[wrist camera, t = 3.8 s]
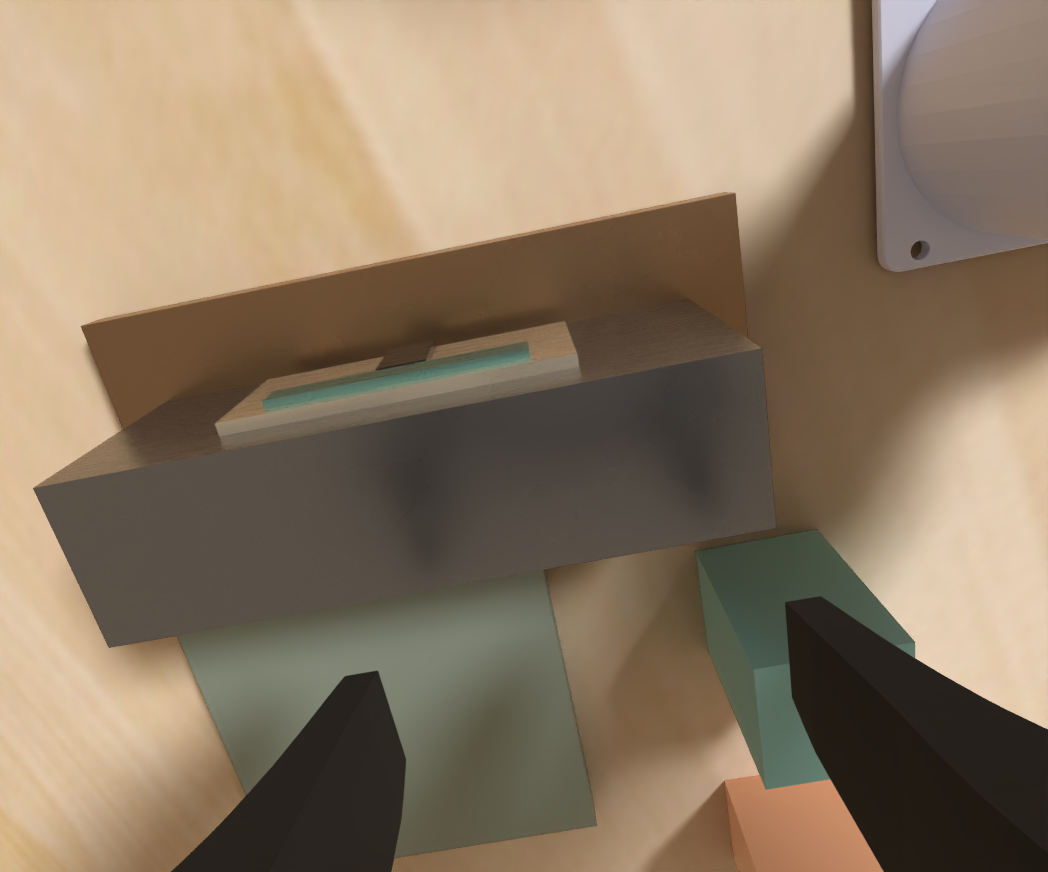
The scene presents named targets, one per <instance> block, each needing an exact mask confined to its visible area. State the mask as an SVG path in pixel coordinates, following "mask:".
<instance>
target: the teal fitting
mask: <svg viewBox="0 0 1048 872" xmlns="http://www.w3.org/2000/svg"><path fill="white" fill-rule="evenodd" d="M695 552H696V560H697V568H698V575H699V583H700V591H701V599H702V607H703V615H704V623H705V631H706V639H707V646H708V652H709V654H710V657H711V659H712V661H713V664H714V666H715V669H716V671H717V673H718V676H719V678H720V681H721V683H722V685H723V688H724V690H725V693H726V695H727V697H728V700H729V702H730V705H731V707H732V709H733V712H734V714H735V717H736V719H737V722H738V724H739V726H740V729H741V731H742V734H743V736H744V738H745V741H746V743H747V746H748V748H749V750H750V753H751V755H752V758H753V760H754V762H755V765H756V767H757V770H758V772H759V774H760V777H761V779H762V782H763V784H764V787H765V789H766V790H767V789H774V788H780V787H786V786H792V785H799V784H805V783H811V782H817V781H823V780H830V778H829V776H828V774H827V772H826V771H825V769H824V767H823V765H822V764H821V762H820V760H819V758H818V756H817V755H816V753H815V751H814V748H813V746H812V744H811V742H810V739H809V737H808V735H807V732H806V730H805V728H804V725H803V723H802V721H801V718H800V716H799V713H798V711H797V709H796V706H795V704H794V701H793V699H792V693H791V679H790V665H789V651H788V637H787V623H786V610H785V602H788V601H794V600H800V599H806V598H812V597H818V596H821V597H823V598H824V599H826V600H827V601H829V602H831V603H832V604H833V605H835V606H836V607H838V608H839V609H841V610H842V611H844V612H845V613H847V614H848V615H850V616H851V617H853V618H854V619H856V620H857V621H859V622H860V623H862V624H863V625H865V626H866V627H868V628H869V629H871V630H872V631H874V632H875V633H877V634H878V635H880V636H881V637H883V638H884V639H886V640H887V641H889V642H890V643H892V644H893V645H895V646H896V647H898V648H900V649H901V650H903V651H904V652H906V653H907V654H909V655H911V656H912V657H914V658H915V642H914V640H913V639H912V638H911V637H910V636H909V635H908V633H907V632H906V631H905V630H904V629H903V628H902V627H901V625H900V624H899V623H898V622H897V621H896V620H895V619H894V617H893V616H892V615H891V614H890V613H889V612H888V610H887V609H886V608H885V607H884V606H883V605H882V604H881V602H880V601H879V600H878V599H877V598H876V597H875V596H874V594H873V593H872V592H871V591H870V590H869V589H868V587H867V586H866V585H865V584H864V583H863V582H862V581H861V579H860V578H859V577H858V576H857V575H856V574H855V572H854V571H853V570H852V569H851V568H850V567H849V566H848V564H847V563H846V562H845V561H844V560H843V559H842V558H841V556H840V555H839V554H838V553H837V552H836V551H835V549H834V548H833V547H832V546H831V545H830V544H829V543H828V541H827V540H826V539H825V538H824V537H823V536H822V534H821V533H820V532H819V531H818V530H817V529H816V530H811V531H805V532H800V533H794V534H789V535H783V536H777V537H772V538H766V539H761V540H755V541H750V542H744V543H738V544H733V545H727V546H722V547H716V548H711V549H705V550H699V551H695Z"/></svg>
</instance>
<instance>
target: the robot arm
mask: <svg viewBox="0 0 1048 872" xmlns="http://www.w3.org/2000/svg"><path fill="white" fill-rule="evenodd" d="M872 27H873V73H874V119H875V165H876V211H877V256H878V261H879V263H880V265H881V266H882V267H883V268H885V269H887V270H889V271H893V272H903V271H908V270H913V269H918V268H923V267H928V266H933V265H938V264H943V263H949V262H954V261H959V260H964V259H969V258H974V257H979V256H984V255H990V254H995V253H1000V252H1005V251H1010V250H1015V249H1020V248H1025V247H1030V246H1036V245H1041V244H1046V243H1048V0H872ZM918 241H920V242H921V245H922V250H921V253H920V254H919V255H918V256H917V257H915V258H912V256H911V253H910V251H911V247H912V246H913V245H914V244H915V243H916V242H918ZM785 610H786V623H787V637H788V651H789V665H790V679H791V693H792V699H793V701H794V704H795V706H796V709H797V711H798V713H799V716H800V718H801V721H802V723H803V725H804V728H805V730H806V732H807V735H808V737H809V739H810V742H811V744H812V746H813V748H814V751H815V753H816V755H817V756H818V758H819V760H820V762H821V764H822V765H823V767H824V769H825V771H826V772H827V774H828V776H829V778H830V779H831V781H832V783H833V785H834V786H835V788H836V790H837V792H838V794H839V795H840V797H841V799H842V800H843V802H844V804H845V806H846V807H847V809H848V811H849V813H850V814H851V816H852V818H853V820H854V821H855V823H856V825H857V826H858V828H859V830H860V832H861V833H862V835H863V837H864V839H865V840H866V842H867V844H868V846H869V847H870V849H871V851H872V852H873V854H874V856H875V858H876V859H877V861H878V863H879V865H880V866H881V868H882V870H883V872H1048V729H1045V728H1043V727H1041V726H1039V725H1037V724H1035V723H1033V722H1031V721H1029V720H1027V719H1024V718H1022V717H1020V716H1018V715H1016V714H1014V713H1012V712H1010V711H1008V710H1006V709H1004V708H1002V707H1000V706H998V705H996V704H994V703H992V702H990V701H988V700H987V699H985V698H983V697H981V696H979V695H977V694H976V693H974V692H972V691H970V690H968V689H967V688H965V687H963V686H961V685H960V684H958V683H956V682H954V681H952V680H951V679H949V678H947V677H945V676H944V675H942V674H940V673H939V672H937V671H935V670H934V669H932V668H930V667H928V666H927V665H925V664H924V663H922V662H920V661H919V660H917V659H915V658H914V657H912V656H911V655H909V654H907V653H906V652H904V651H903V650H901V649H900V648H898V647H896V646H895V645H893V644H892V643H890V642H889V641H887V640H886V639H884V638H883V637H881V636H880V635H878V634H877V633H875V632H874V631H872V630H871V629H869V628H868V627H866V626H865V625H863V624H862V623H860V622H859V621H857V620H856V619H854V618H853V617H851V616H850V615H848V614H847V613H845V612H844V611H842V610H841V609H839V608H838V607H836V606H835V605H833V604H832V603H831V602H829V601H827V600H826V599H824V598H823V597H821V596H818V597H812V598H806V599H800V600H794V601H788V602H785ZM405 771H406V757H405V754H404V751H403V748H402V744H401V741H400V738H399V735H398V732H397V729H396V725H395V722H394V719H393V716H392V713H391V710H390V707H389V703H388V700H387V697H386V694H385V691H384V688H383V684H382V681H381V678H380V675H379V672H378V671H372V672H366V673H360V674H354V675H348V676H345V677H344V678H343V679H342V680H341V681H340V682H339V684H338V685H337V686H336V687H335V689H334V690H333V691H332V692H331V694H330V695H329V696H328V697H327V699H326V700H325V701H324V702H323V704H322V705H321V706H320V708H319V709H318V710H317V711H316V713H315V714H314V715H313V716H312V718H311V719H310V720H309V722H308V723H307V724H306V725H305V727H304V728H303V729H302V730H301V732H300V733H299V734H298V735H297V737H296V738H295V739H294V740H293V741H292V743H291V744H290V745H289V746H288V748H287V749H286V750H285V751H284V753H283V754H282V755H281V756H280V757H279V759H278V760H277V761H276V762H275V764H274V765H273V766H272V767H271V768H270V769H269V770H268V772H267V773H266V774H265V775H264V776H263V777H262V778H261V779H260V781H259V782H258V783H257V784H256V785H255V786H254V787H253V788H252V790H251V791H250V792H249V793H248V794H247V795H246V796H245V798H244V799H243V800H242V801H241V802H240V803H239V804H238V805H237V807H236V808H235V809H234V810H233V811H232V812H231V813H230V814H229V815H228V816H227V817H226V818H225V820H224V821H223V822H222V823H221V824H220V825H219V826H218V827H217V828H216V829H215V830H214V831H213V832H212V833H211V834H210V835H209V836H208V837H207V838H206V839H205V840H204V841H203V842H202V843H201V844H200V845H199V846H198V847H197V848H196V849H195V850H194V851H192V852H191V853H190V854H189V855H188V856H187V857H186V858H185V859H184V860H183V861H182V862H181V863H180V864H179V865H178V866H177V867H176V868H175V869H174V870H172V871H171V872H391V871H392V866H393V861H394V855H395V850H396V845H397V840H398V835H399V830H400V825H401V819H402V810H403V799H404V786H405Z"/></svg>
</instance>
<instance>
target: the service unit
mask: <svg viewBox="0 0 1048 872" xmlns="http://www.w3.org/2000/svg"><path fill="white" fill-rule="evenodd" d="M81 328H82V330H83V333H84V335H85V338H86V340H87V343H88V345H89V347H90V350H91V352H92V355H93V357H94V359H95V362H96V364H97V367H98V369H99V372H100V374H101V376H102V379H103V381H104V384H105V386H106V388H107V391H108V393H109V396H110V398H111V400H112V403H113V405H114V408H115V410H116V413H117V415H118V417H119V420H120V422H121V425H122V427H123V430H122V431H120V432H118V433H117V434H115V435H114V436H112V437H111V438H109V439H108V440H106V441H105V442H103V443H102V444H100V445H99V446H97V447H95V448H94V449H92V450H91V451H89V452H88V453H86V454H85V455H83V456H82V457H80V458H79V459H77V460H75V461H74V462H72V463H71V464H69V465H68V466H66V467H65V468H63V469H62V470H60V471H59V472H57V473H56V474H54V475H52V476H51V477H49V478H48V479H46V480H45V481H43V482H42V483H40V484H39V485H37V486H36V487H34V488H33V489H34V491H35V493H36V496H37V498H38V500H39V502H40V504H41V506H42V508H43V510H44V512H45V515H46V517H47V519H48V521H49V523H50V525H51V527H52V529H53V531H54V533H55V536H56V538H57V540H58V542H59V544H60V546H61V548H62V550H63V552H64V554H65V557H66V559H67V561H68V563H69V565H70V567H71V569H72V571H73V573H74V575H75V578H76V580H77V582H78V584H79V586H80V588H81V590H82V592H83V594H84V597H85V599H86V601H87V603H88V605H89V607H90V609H91V611H92V613H93V615H94V618H95V620H96V622H97V624H98V626H99V628H100V630H101V632H102V634H103V636H104V639H105V641H106V643H107V645H108V647H109V648H111V647H116V646H122V645H128V644H133V643H139V642H144V641H150V640H155V639H161V638H167V637H172V636H178V635H183V634H189V633H194V632H200V631H206V630H211V629H217V628H222V627H228V626H233V625H239V624H245V623H250V622H256V621H261V620H267V619H272V618H278V617H284V616H289V615H295V614H300V613H306V612H311V611H317V610H323V609H328V608H334V607H339V606H345V605H350V604H356V603H362V602H367V601H373V600H378V599H384V598H389V597H395V596H401V595H406V594H412V593H417V592H423V591H428V590H434V589H440V588H445V587H451V586H456V585H462V584H467V583H473V582H479V581H484V580H490V579H495V578H501V577H507V576H512V575H518V574H523V573H529V572H534V571H540V570H546V569H551V568H557V567H562V566H568V565H573V564H579V563H585V562H590V561H596V560H601V559H607V558H612V557H618V556H624V555H629V554H635V553H640V552H646V551H651V550H657V549H663V548H668V547H674V546H679V545H685V544H690V543H696V542H702V541H707V540H713V539H718V538H724V537H729V536H735V535H741V534H746V533H752V532H757V531H763V530H768V529H774V528H776V517H775V505H774V492H773V480H772V467H771V455H770V443H769V430H768V418H767V405H766V393H765V380H764V368H763V355H762V348H761V347H759V346H758V345H757V344H755V343H754V342H752V341H751V340H749V339H748V333H747V321H746V310H745V298H744V286H743V275H742V263H741V252H740V240H739V229H738V217H737V206H736V194H735V193H727V192H724V193H719V194H714V195H709V196H704V197H699V198H694V199H689V200H684V201H680V202H675V203H670V204H665V205H660V206H655V207H650V208H645V209H640V210H635V211H630V212H625V213H621V214H616V215H611V216H606V217H601V218H596V219H591V220H586V221H581V222H576V223H571V224H566V225H562V226H557V227H552V228H547V229H542V230H537V231H532V232H527V233H522V234H517V235H512V236H507V237H503V238H498V239H493V240H488V241H483V242H478V243H473V244H468V245H463V246H458V247H453V248H448V249H444V250H439V251H434V252H429V253H424V254H419V255H414V256H409V257H404V258H399V259H394V260H389V261H385V262H380V263H375V264H370V265H365V266H360V267H355V268H350V269H345V270H340V271H335V272H330V273H326V274H321V275H316V276H311V277H306V278H301V279H296V280H291V281H286V282H281V283H276V284H271V285H267V286H262V287H257V288H252V289H247V290H242V291H237V292H232V293H227V294H222V295H217V296H212V297H208V298H203V299H198V300H193V301H188V302H183V303H178V304H173V305H168V306H163V307H158V308H153V309H149V310H144V311H139V312H134V313H129V314H124V315H119V316H114V317H109V318H104V319H100V320H97V321H94V322H91V323H88V324H85V325H83V326H81Z"/></svg>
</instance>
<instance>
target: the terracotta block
mask: <svg viewBox="0 0 1048 872" xmlns="http://www.w3.org/2000/svg"><path fill="white" fill-rule="evenodd" d="M725 789H726V797H727V805H728V813H729V821H730V829H731V837H732V845H733V854H734V859H735V862H736V865H737V868H738V871H739V872H883V870H882V868H881V866H880V865H879V863H878V861H877V859H876V858H875V856H874V854H873V852H872V851H871V849H870V847H869V846H868V844H867V842H866V840H865V839H864V837H863V835H862V833H861V832H860V830H859V828H858V826H857V825H856V823H855V821H854V820H853V818H852V816H851V814H850V813H849V811H848V809H847V807H846V806H845V804H844V802H843V800H842V799H841V797H840V795H839V794H838V792H837V790H836V788H835V786H834V785H833V783H832V781H831V779H830V780H823V781H817V782H811V783H805V784H799V785H792V786H786V787H780V788H774V789H767V790H766V789H765V787H764V784H763V782H762V779H761V777H760V775H756V776H750V777H744V778H738V779H732V780H725Z"/></svg>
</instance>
